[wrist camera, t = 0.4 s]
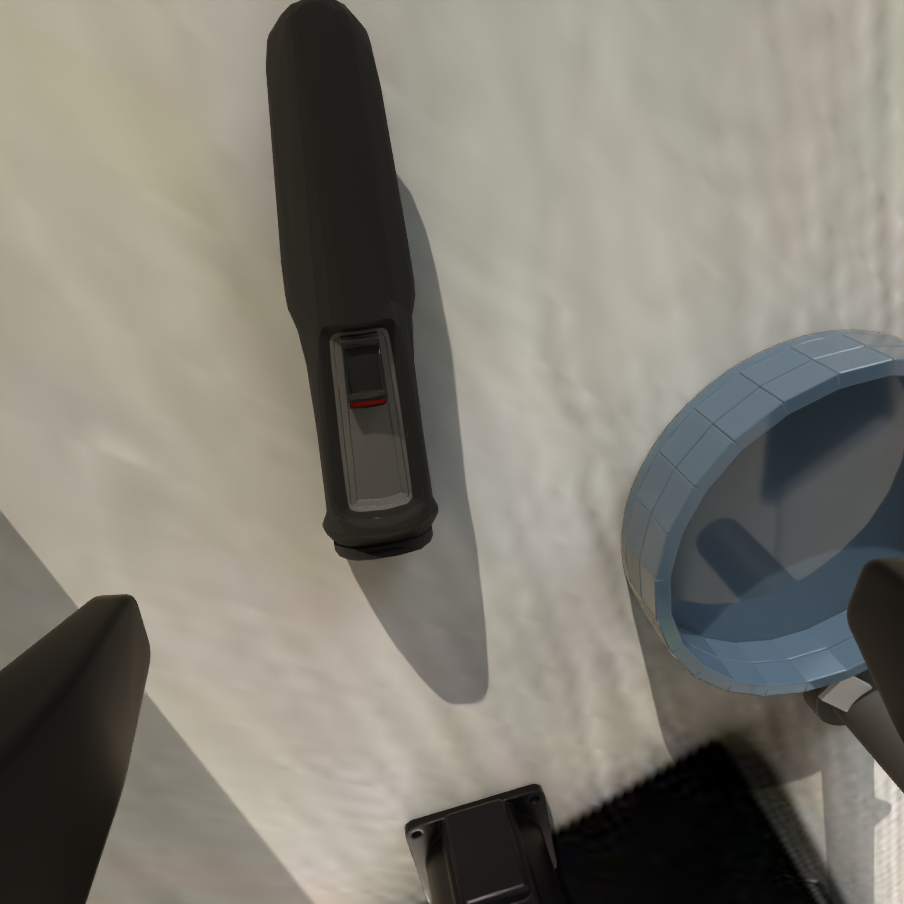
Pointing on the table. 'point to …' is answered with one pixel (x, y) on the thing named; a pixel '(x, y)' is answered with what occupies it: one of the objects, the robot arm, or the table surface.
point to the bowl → (772, 512)
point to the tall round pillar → (862, 719)
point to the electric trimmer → (348, 278)
